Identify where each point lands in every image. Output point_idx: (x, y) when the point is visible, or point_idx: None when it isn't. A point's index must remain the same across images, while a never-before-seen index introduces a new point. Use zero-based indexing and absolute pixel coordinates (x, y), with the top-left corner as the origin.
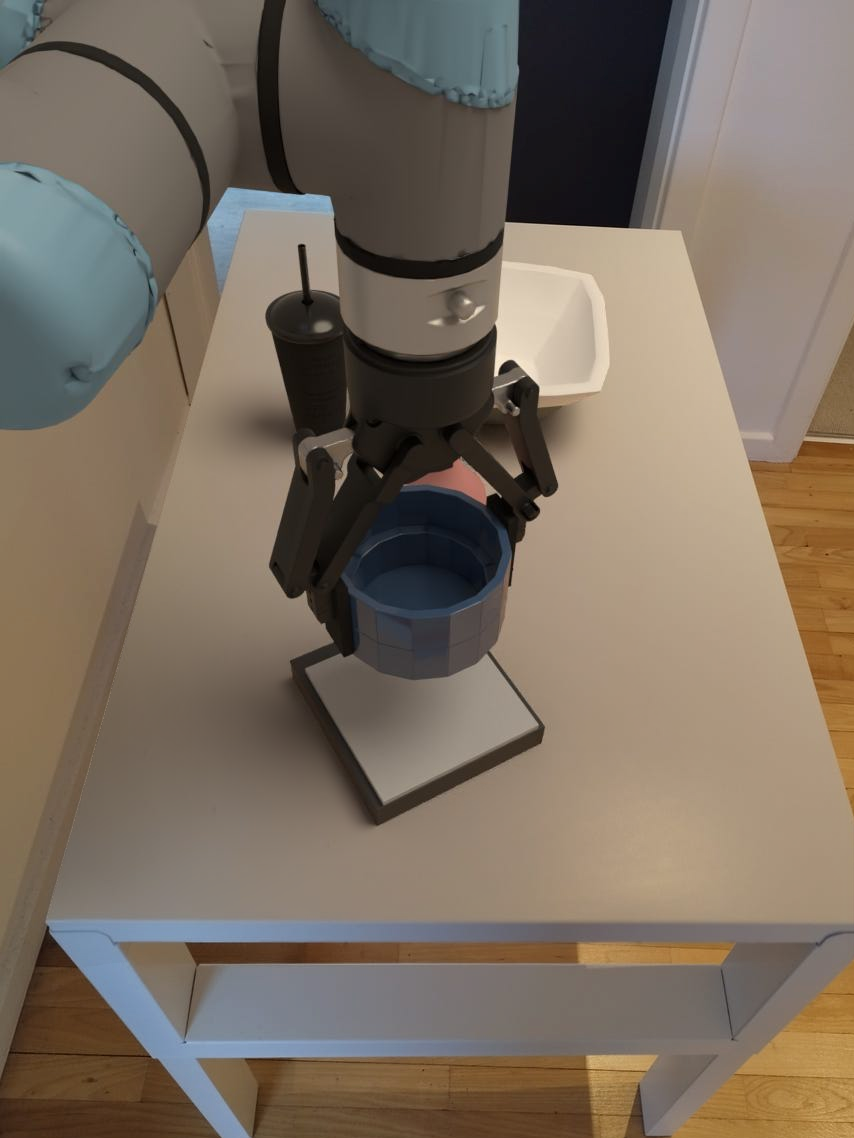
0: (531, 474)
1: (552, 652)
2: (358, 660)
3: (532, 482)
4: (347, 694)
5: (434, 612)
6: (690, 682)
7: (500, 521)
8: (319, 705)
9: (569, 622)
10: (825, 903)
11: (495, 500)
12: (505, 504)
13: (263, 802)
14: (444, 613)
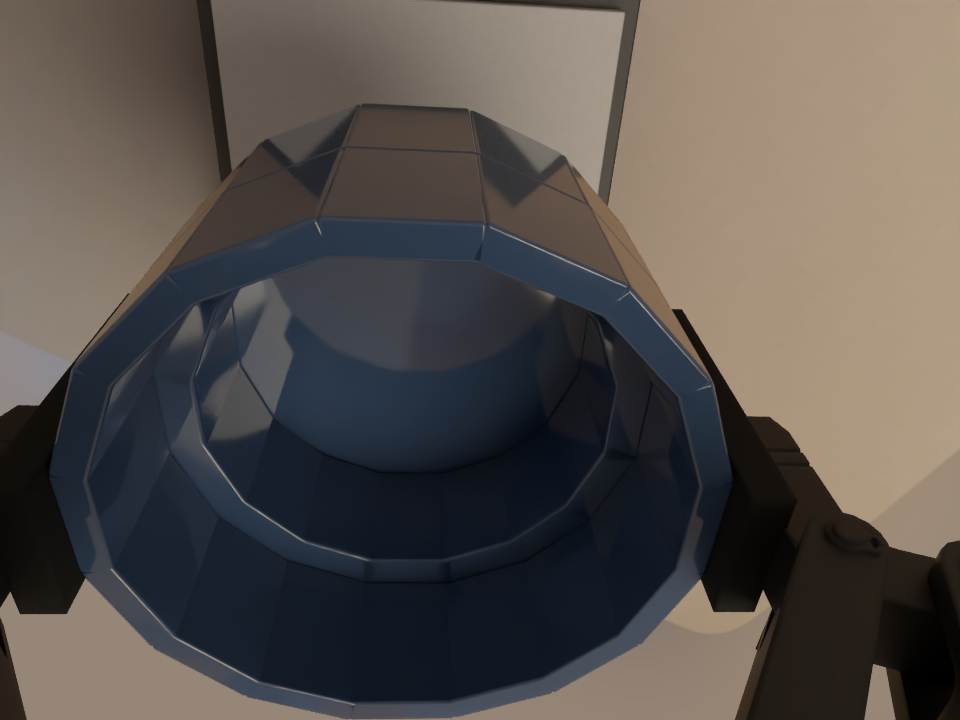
0: (937, 636)
1: (731, 180)
2: (339, 39)
3: (902, 655)
4: (278, 115)
5: (314, 701)
6: (859, 352)
7: (712, 547)
8: (216, 92)
9: (818, 135)
10: (696, 620)
11: (762, 525)
12: (773, 553)
13: (72, 181)
14: (339, 711)
